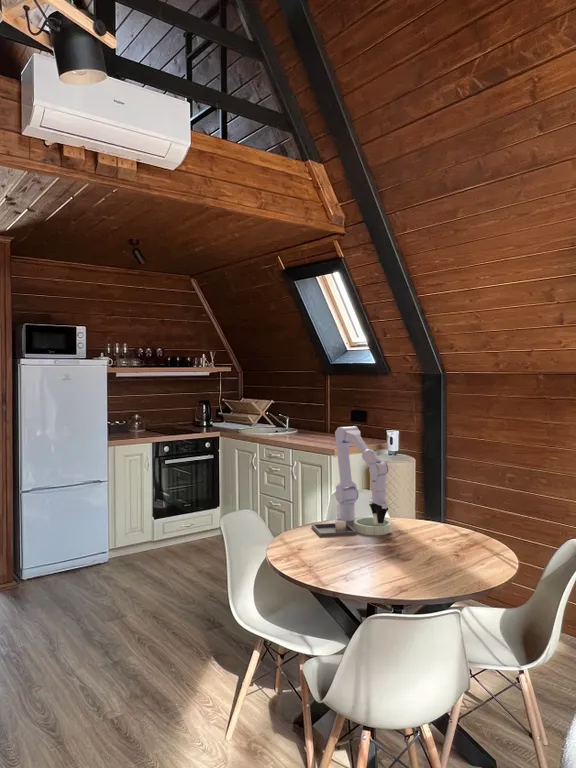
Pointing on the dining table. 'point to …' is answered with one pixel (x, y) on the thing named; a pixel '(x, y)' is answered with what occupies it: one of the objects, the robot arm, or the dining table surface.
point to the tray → (331, 530)
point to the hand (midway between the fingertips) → (378, 521)
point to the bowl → (371, 526)
